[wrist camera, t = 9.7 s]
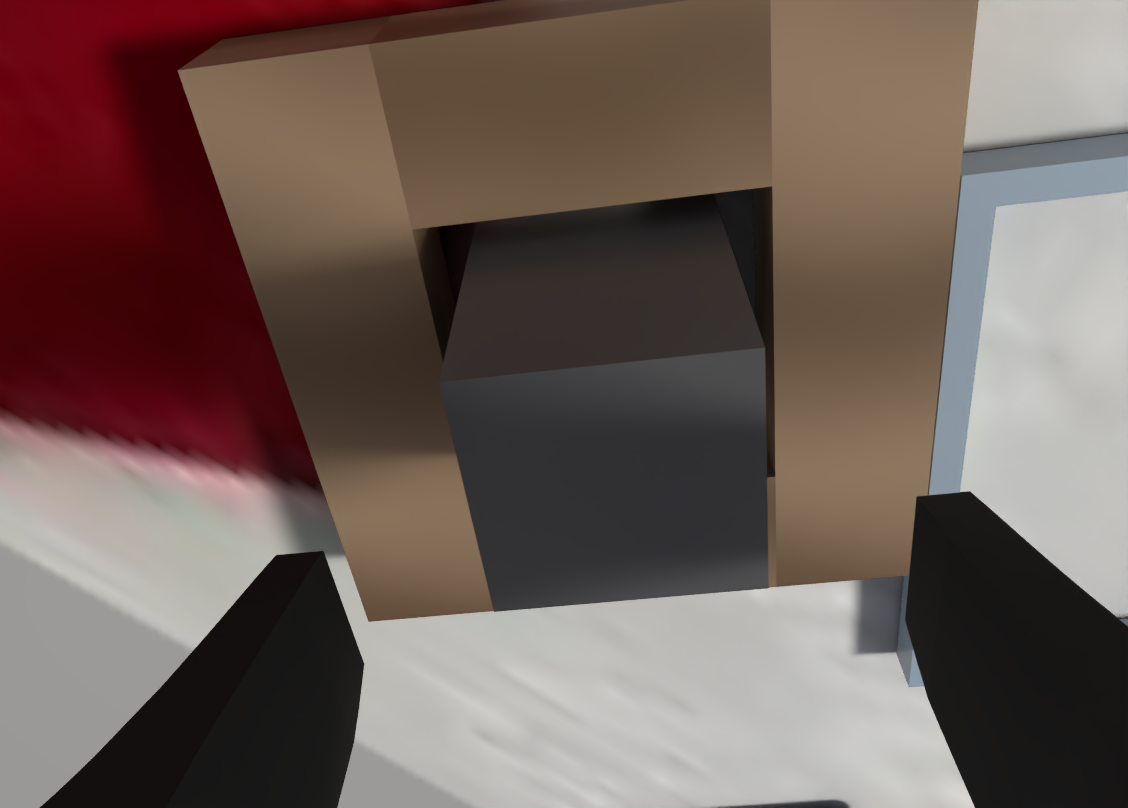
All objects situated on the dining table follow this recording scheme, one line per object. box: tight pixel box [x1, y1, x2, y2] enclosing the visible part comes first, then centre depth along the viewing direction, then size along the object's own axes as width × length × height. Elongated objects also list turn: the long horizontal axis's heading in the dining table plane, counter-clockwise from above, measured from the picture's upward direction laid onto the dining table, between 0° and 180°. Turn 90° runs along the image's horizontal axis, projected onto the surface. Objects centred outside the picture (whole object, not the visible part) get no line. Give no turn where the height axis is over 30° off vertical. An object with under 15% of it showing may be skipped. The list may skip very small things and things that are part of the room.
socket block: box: [178, 0, 978, 622], centre depth 17 cm, size 11×11×2 cm
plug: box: [439, 194, 769, 612], centre depth 15 cm, size 4×4×6 cm
